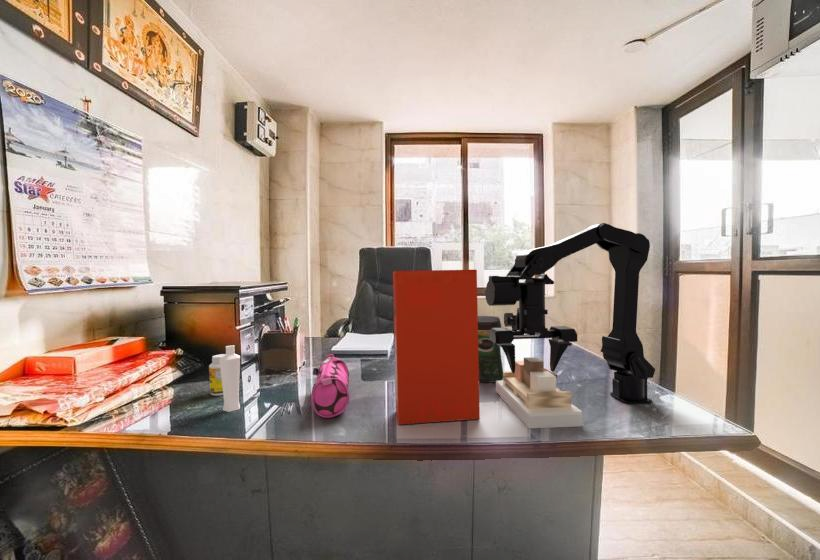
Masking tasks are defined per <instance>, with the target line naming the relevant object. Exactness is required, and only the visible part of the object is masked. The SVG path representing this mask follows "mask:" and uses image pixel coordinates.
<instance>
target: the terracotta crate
mask: <svg viewBox="0 0 820 560" xmlns="http://www.w3.org/2000/svg"><path fill="white" fill-rule="evenodd" d="M515 378H517V379H518V380H519V381H520V382H524V360H515Z"/></svg>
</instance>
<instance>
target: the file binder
mask: <svg viewBox="0 0 820 560" xmlns="http://www.w3.org/2000/svg"><path fill="white" fill-rule="evenodd" d="M477 272H478V270H477V269H440V270H438V269H436V270H435V269H433V270H430V269H429V270H426V269H425V270H394V271H393V272H392V291H393V293H392V294H393V295H392V296H393V337H394V338H393V340H394V341H393V342H394V348H393V349H394V379H395V380H394V381H395V382H394V385H395V388H394V389H395V390H394V391H395V393H394V395H395V414H396V419H397V424H398V425H411V424H427V423H441V421H442V422H453V421H454V422H455V420H456V421H465V420H466V421H468V420H469V421H470V419H471V420H479V419H481V418H480V416H481V415H480V381H479V359H478V316H479V313H478V310H479V309H478V273H477Z"/></svg>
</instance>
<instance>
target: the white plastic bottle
mask: <svg viewBox="0 0 820 560" xmlns="http://www.w3.org/2000/svg"><path fill="white" fill-rule="evenodd" d="M235 346H236V345H234V344H232V345H231V344H230V345H226V346H224V347H225V354H226V355H225V356H223V357H221V358H220V359H219V360H220V369H221V378H222V387H223V395H222V396H223V407H222V411H224V412H228V413H229V412H230V413H231V412H234V411H237V410H240V409H241V404H240V401H239V398H240V397H239V396H240V394H239V393H240V370H241V355H239V354H237V353H235V351H236V350H235Z"/></svg>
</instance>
